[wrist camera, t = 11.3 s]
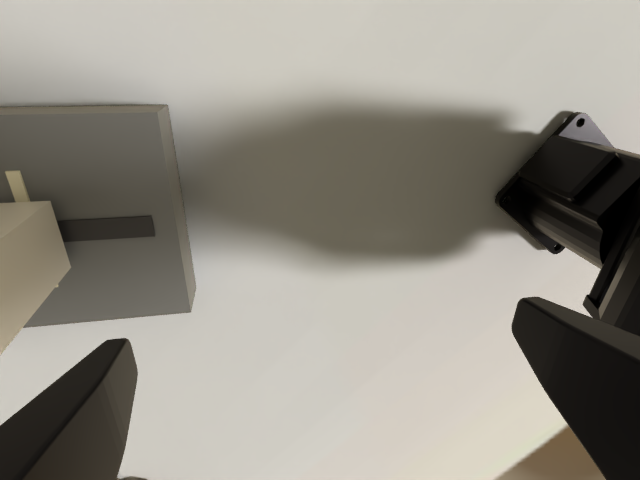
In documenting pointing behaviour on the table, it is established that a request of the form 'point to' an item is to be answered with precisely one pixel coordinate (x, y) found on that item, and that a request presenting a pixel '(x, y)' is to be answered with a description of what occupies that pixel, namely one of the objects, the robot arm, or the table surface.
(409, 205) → the table surface
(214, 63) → the table surface
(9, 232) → the fader knob
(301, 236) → the table surface
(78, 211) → the console
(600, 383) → the robot arm
